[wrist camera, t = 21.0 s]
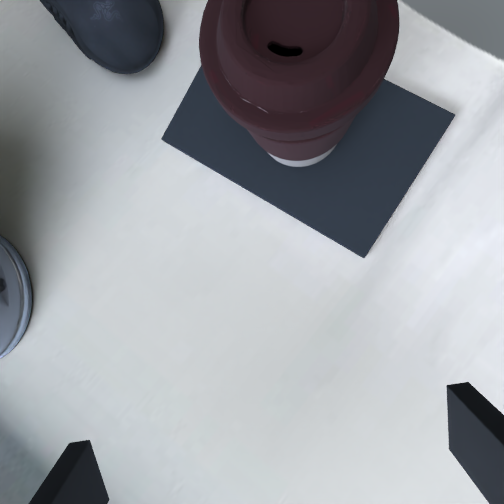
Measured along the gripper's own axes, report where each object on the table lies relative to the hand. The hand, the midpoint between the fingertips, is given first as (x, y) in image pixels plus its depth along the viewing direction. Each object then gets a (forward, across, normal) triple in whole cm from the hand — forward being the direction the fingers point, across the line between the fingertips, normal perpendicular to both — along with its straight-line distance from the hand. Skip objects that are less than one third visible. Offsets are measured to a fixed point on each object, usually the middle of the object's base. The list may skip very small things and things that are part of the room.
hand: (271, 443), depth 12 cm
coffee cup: (+21, +6, +13) cm, 26 cm away
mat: (+22, +6, +13) cm, 26 cm away
